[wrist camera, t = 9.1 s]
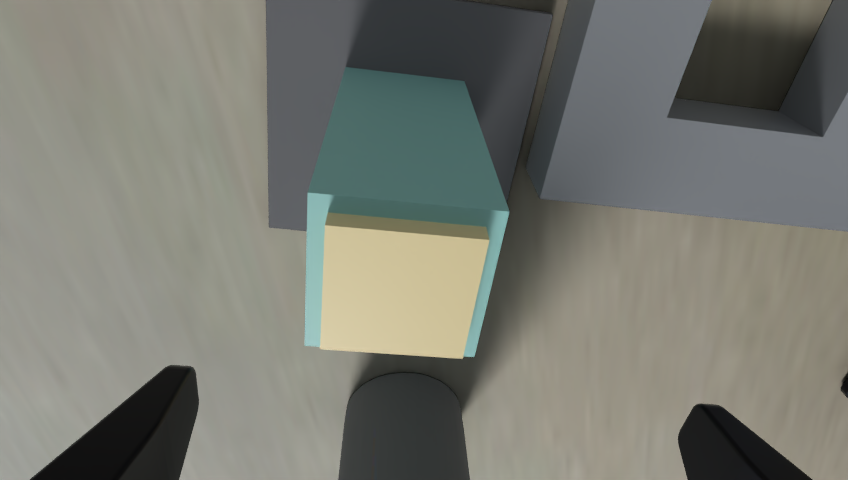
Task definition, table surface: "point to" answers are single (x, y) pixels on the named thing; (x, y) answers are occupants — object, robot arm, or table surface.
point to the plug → (401, 220)
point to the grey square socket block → (688, 123)
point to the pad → (398, 53)
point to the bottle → (403, 431)
